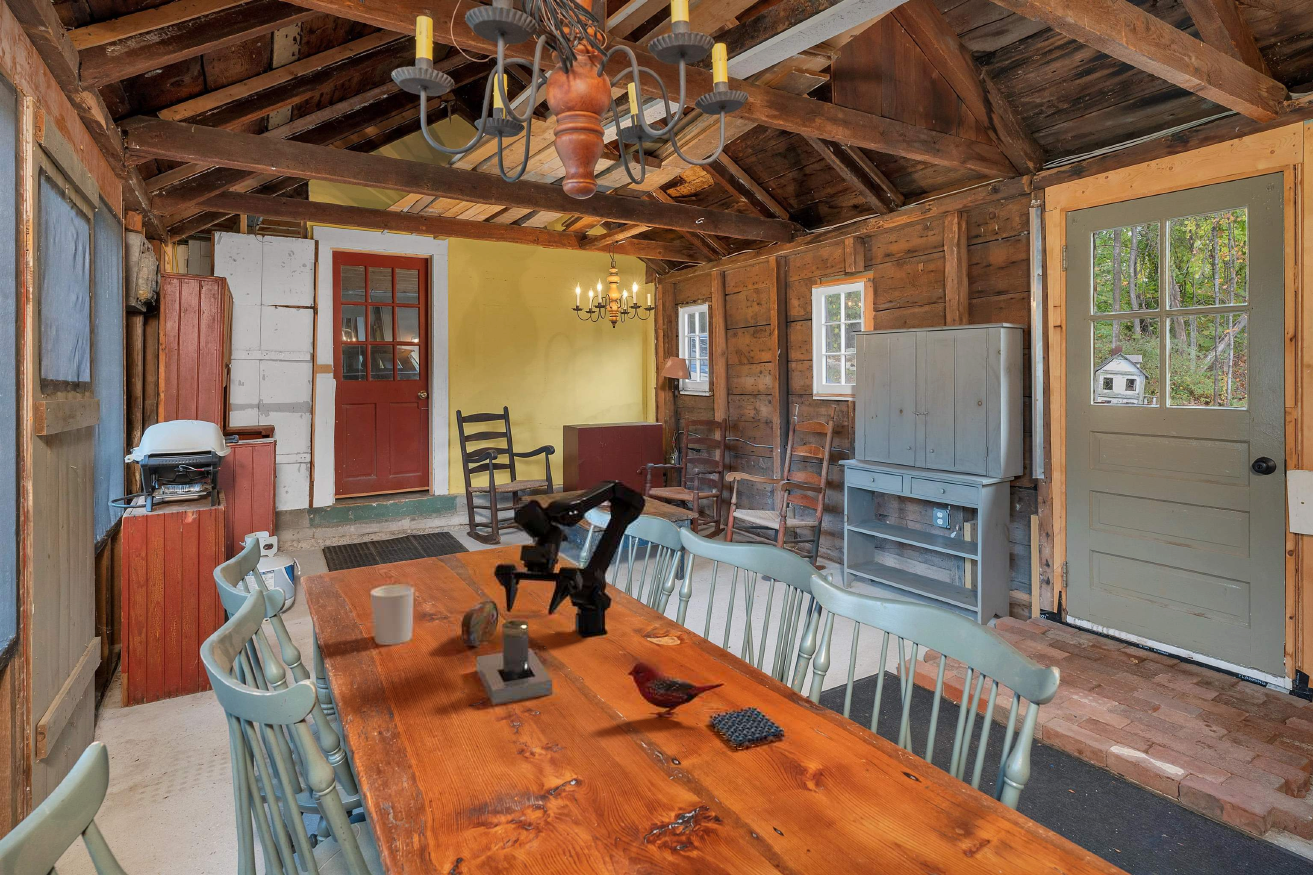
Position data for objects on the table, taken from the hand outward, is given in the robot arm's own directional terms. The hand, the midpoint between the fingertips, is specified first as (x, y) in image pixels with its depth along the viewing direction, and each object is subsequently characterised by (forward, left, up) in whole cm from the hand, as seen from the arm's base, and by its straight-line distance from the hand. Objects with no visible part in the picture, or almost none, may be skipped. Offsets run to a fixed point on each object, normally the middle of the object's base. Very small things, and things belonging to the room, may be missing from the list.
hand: (528, 612), depth 143 cm
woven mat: (-29, +40, -14) cm, 51 cm away
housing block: (+4, +3, -13) cm, 14 cm away
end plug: (+4, +6, -13) cm, 15 cm away
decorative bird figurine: (-20, +30, -13) cm, 38 cm away
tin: (+6, -24, -13) cm, 28 cm away
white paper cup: (+25, -33, -13) cm, 44 cm away
